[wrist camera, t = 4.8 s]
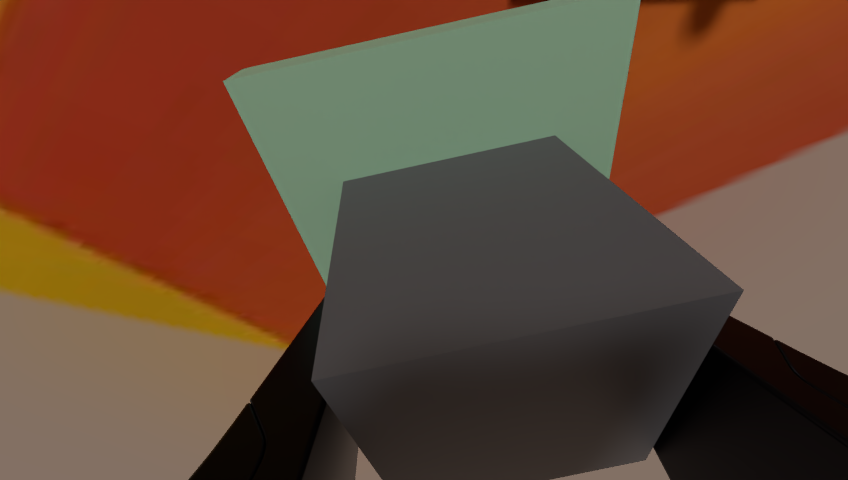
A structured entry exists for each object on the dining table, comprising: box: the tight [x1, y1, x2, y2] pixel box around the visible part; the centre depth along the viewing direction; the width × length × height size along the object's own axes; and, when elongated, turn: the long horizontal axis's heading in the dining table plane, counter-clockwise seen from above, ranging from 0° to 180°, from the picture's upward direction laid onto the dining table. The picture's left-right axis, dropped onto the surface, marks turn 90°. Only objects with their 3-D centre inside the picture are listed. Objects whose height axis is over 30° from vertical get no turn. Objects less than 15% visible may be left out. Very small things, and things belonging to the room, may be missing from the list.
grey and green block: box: [223, 0, 743, 480], centre depth 8 cm, size 8×10×6 cm
